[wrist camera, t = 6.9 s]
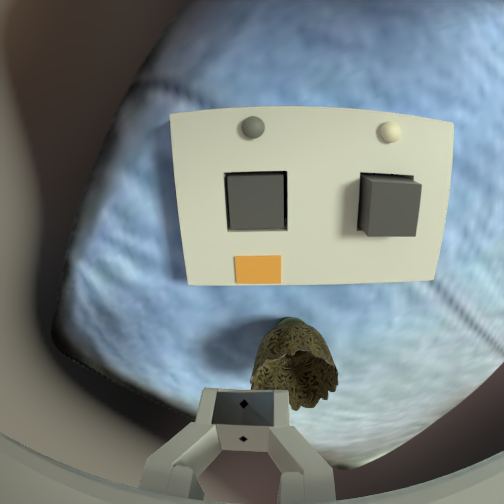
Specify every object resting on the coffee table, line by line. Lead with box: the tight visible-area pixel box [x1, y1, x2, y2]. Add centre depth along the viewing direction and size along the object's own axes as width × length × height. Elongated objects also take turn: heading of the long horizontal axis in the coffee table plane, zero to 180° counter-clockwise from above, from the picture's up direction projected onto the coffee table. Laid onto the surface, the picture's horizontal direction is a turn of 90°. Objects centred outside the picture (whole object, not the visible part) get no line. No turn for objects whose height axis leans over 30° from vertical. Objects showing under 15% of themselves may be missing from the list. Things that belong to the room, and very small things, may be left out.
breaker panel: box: [170, 106, 454, 286], centre depth 23 cm, size 14×22×3 cm, turn 92°
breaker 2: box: [357, 174, 422, 237], centre depth 21 cm, size 4×4×3 cm
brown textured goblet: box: [250, 318, 338, 411], centre depth 27 cm, size 8×7×8 cm
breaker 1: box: [227, 171, 284, 229], centre depth 23 cm, size 4×4×3 cm
